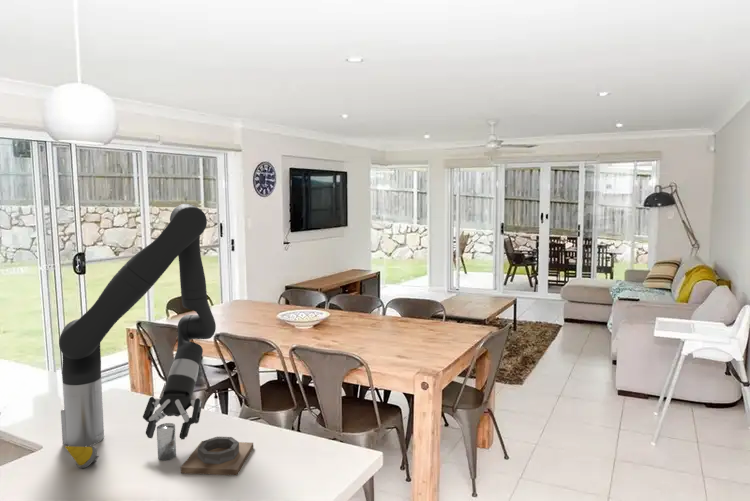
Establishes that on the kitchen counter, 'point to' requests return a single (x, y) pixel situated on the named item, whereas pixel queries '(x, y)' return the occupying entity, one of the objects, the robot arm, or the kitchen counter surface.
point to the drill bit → (83, 455)
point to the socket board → (218, 457)
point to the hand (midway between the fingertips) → (165, 437)
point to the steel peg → (166, 441)
